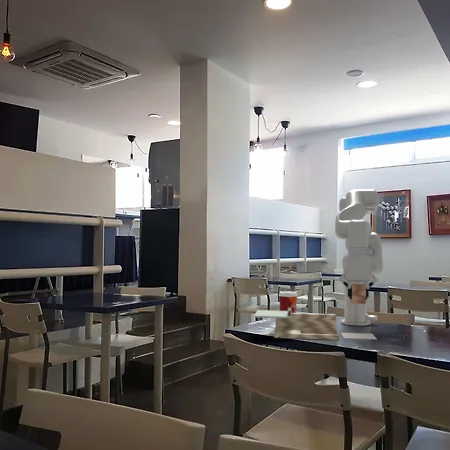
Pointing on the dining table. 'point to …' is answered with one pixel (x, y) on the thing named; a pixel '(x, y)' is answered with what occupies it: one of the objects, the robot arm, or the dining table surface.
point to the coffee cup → (288, 301)
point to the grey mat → (358, 336)
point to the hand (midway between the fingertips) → (358, 298)
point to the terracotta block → (358, 294)
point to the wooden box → (307, 326)
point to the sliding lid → (273, 314)
